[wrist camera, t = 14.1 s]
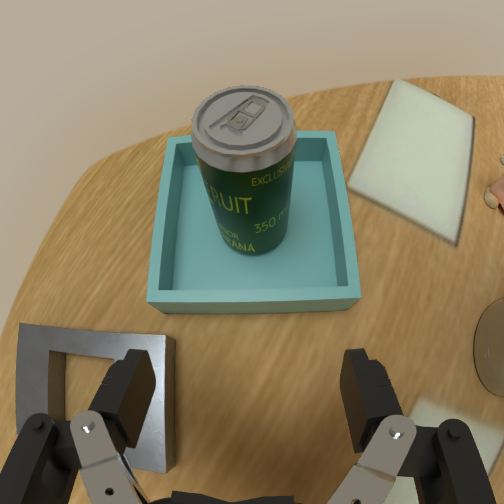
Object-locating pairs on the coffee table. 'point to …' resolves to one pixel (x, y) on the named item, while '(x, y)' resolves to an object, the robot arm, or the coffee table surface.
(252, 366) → the coffee table surface
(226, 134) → the beer can
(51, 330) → the gray rectangular block
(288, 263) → the tray
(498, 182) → the grandmother figurine
